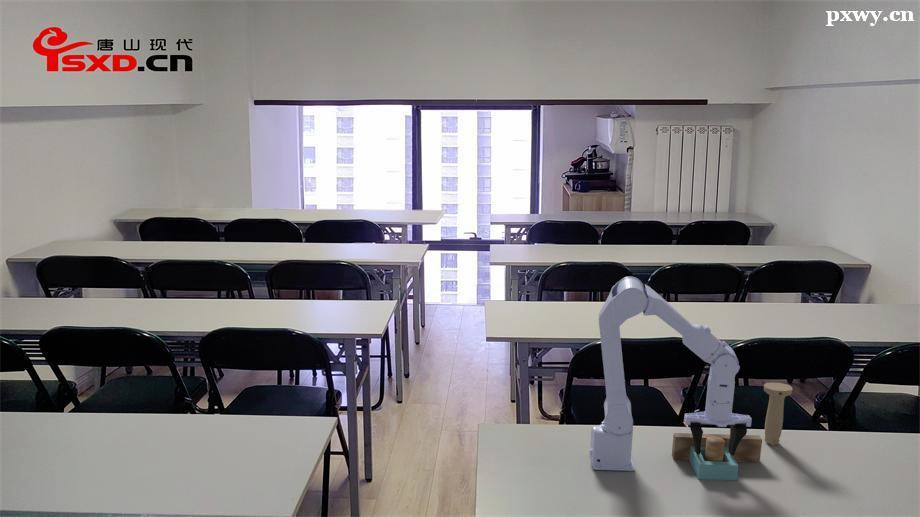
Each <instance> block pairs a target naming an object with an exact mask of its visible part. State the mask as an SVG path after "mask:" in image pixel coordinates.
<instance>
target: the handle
mask: <svg viewBox="0 0 920 517" xmlns="http://www.w3.org/2000/svg"><path fill="white" fill-rule="evenodd" d="M763 392H764V393H766V394H767V395H769V400H768V405H767V411H766V416H765V420H764V421H765V423H764V441H765V443H766V445H771V446H773V447H774V446H776V445H779V443H780V439H781V436H782V435H781V434H782V431H783V426H784V425H783V423H784V409H785V407H784V406H785V398H786V397H788V396H791V395H792V394H793V387H792V386H791V385H790V384H788V383H787V384H786V383H783V382H782V383H781V382H766V383H764V384H763Z"/></svg>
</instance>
